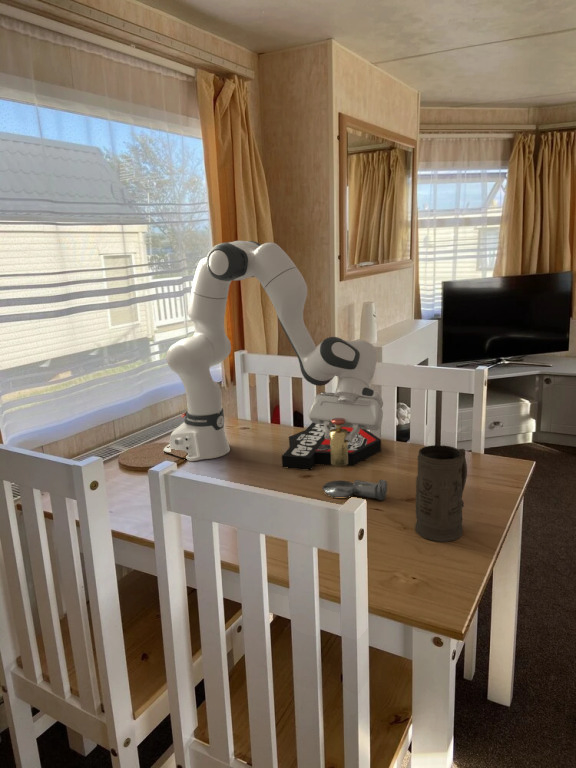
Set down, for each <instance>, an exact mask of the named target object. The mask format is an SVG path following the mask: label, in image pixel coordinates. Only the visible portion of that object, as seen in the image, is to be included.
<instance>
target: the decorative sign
mask: <svg viewBox="0 0 576 768" xmlns="http://www.w3.org/2000/svg"><path fill="white" fill-rule="evenodd" d="M341 428H342V429H346V430H347V434H349V433H350V432H351V431H352V430H353V428H350V427H342V426H341ZM332 429H336V426H333V425H332V426H331V428H329V431H330V430H332ZM325 432H326V431H325V427H324V424H317V423H313V422H312V421H311V423H310V424H309V426H308V427H307V428H306V429H304V430H303V431H300V432H298V433H295V434H292V435H290V436H288V442H289V444H288V445H289V447H288V449H287V450H286V451H285V452H284V453H283V454H282V455H281V465H282V467H288V468H287V469H290V468H297V469H296V470H302V469H308V470H307V471H311V470H312V469H313V468H314V466H315V464H320V466H321V464H322V466H333V465H332V464H331V450H330V440H329V439H325V437H324V435H325ZM380 452H382V439H381V438H379V437H377V435H375V434H374V433H372V432H370V430H367V429H360V431H359V433H358V434H357V435H356V436H355V437H353V441H352V442H348V464H347V465H346V466H347V467H348V466H349V467H354V466H356V465H358V464H359V463H362V462H363V461H365V460H367V459H369V458H371V457H372V456H375V455H376V454H378V453H380ZM361 461H362V462H361ZM323 464H324V465H323ZM346 466H345V467H346ZM312 467H313V468H312ZM311 468H312V469H311Z"/></svg>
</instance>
